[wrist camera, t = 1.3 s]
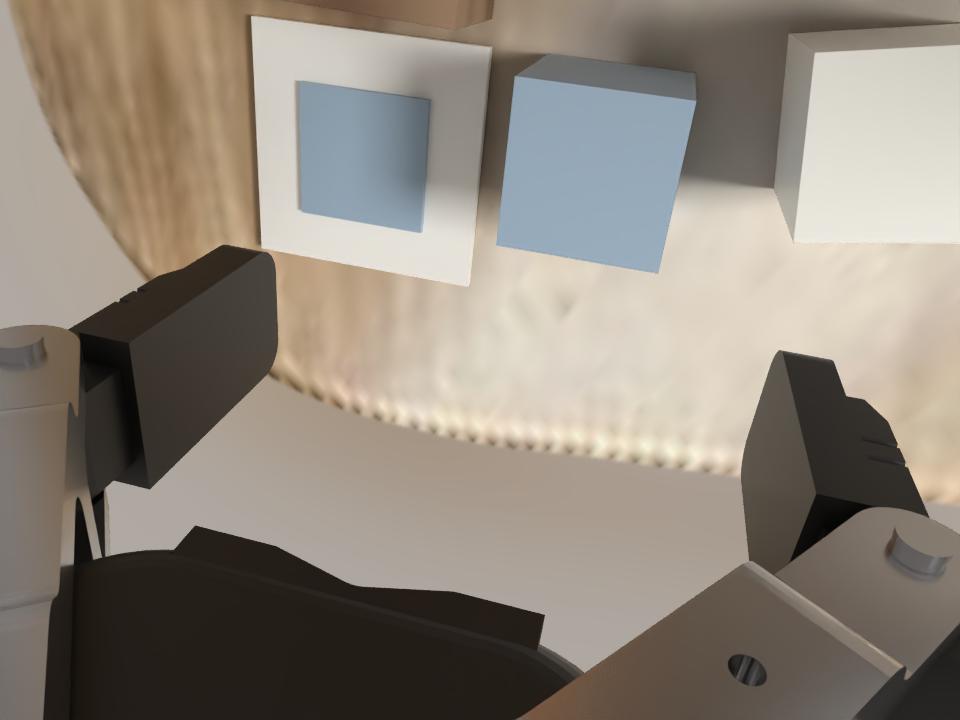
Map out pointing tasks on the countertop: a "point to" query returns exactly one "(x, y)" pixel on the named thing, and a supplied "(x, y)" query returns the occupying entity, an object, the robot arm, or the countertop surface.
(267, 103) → the card
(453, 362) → the countertop surface
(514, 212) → the slate block
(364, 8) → the walnut base
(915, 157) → the white block
